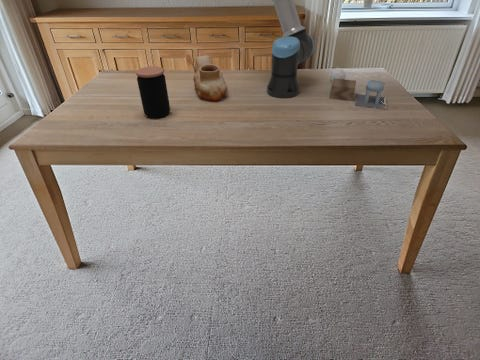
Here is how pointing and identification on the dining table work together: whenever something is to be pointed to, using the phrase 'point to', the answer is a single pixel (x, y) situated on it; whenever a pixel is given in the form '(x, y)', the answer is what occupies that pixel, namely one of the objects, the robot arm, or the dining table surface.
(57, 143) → the dining table surface
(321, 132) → the dining table surface
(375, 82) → the stool
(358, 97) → the mat
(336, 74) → the geometric ball
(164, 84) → the coffee jar
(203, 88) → the ceramic vessel
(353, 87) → the pedestal
